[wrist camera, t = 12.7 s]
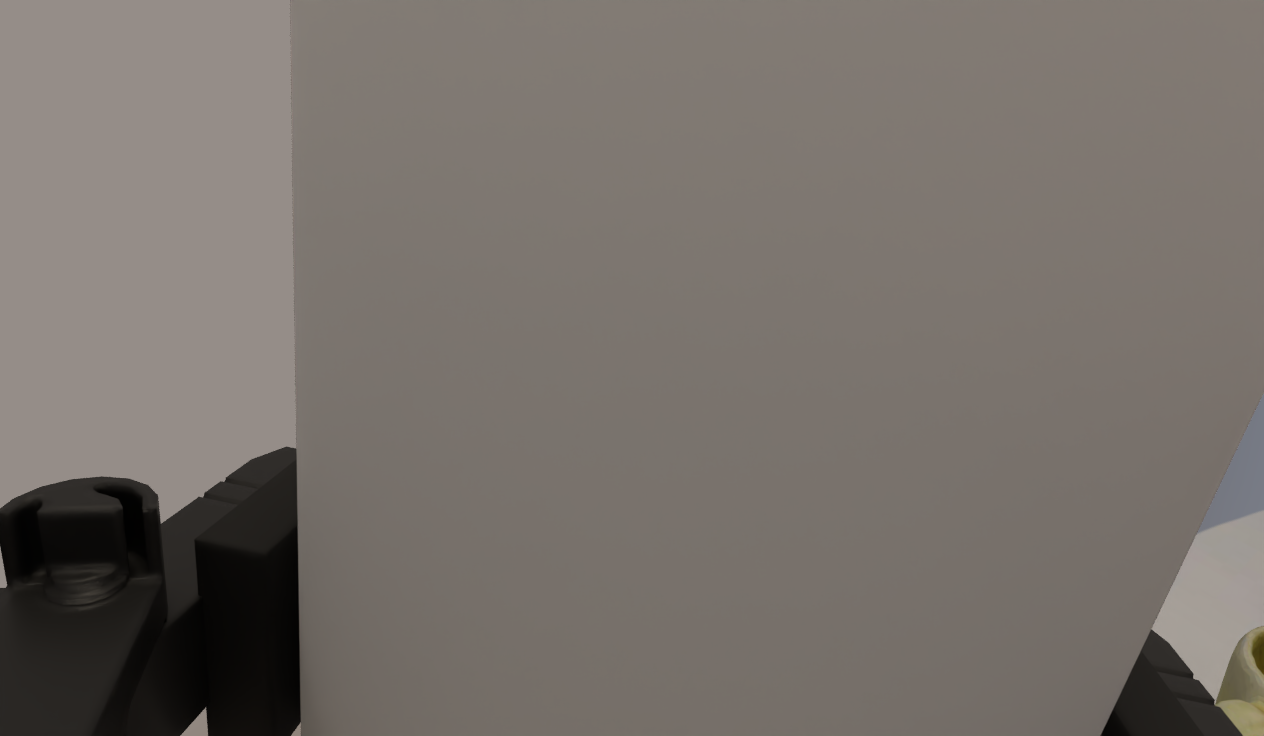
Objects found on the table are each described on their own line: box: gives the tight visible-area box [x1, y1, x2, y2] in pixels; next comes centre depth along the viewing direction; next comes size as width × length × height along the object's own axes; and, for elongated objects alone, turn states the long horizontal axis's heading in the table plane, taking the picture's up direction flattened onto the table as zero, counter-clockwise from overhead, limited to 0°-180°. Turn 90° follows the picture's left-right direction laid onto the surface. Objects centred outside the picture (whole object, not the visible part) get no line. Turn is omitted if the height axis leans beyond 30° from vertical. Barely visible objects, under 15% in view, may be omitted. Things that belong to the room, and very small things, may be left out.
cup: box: [290, 0, 1264, 736], centre depth 9 cm, size 8×8×16 cm
